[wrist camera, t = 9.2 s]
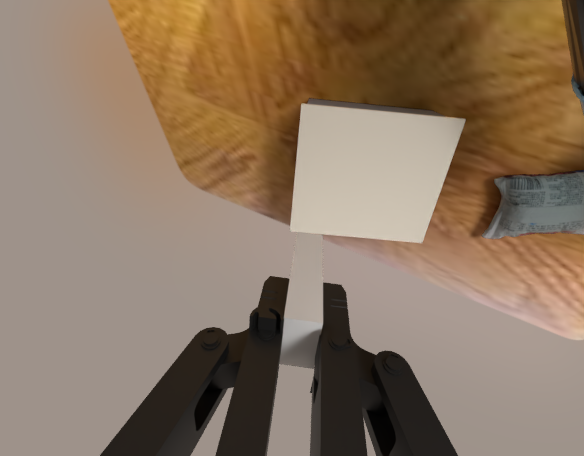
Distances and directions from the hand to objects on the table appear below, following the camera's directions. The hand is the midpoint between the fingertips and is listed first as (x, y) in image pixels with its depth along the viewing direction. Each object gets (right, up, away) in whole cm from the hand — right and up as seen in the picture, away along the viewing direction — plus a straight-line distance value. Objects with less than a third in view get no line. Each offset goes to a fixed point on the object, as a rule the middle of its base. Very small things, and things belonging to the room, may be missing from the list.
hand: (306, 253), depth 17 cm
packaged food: (+30, +5, +20) cm, 37 cm away
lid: (+7, +6, +12) cm, 15 cm away
